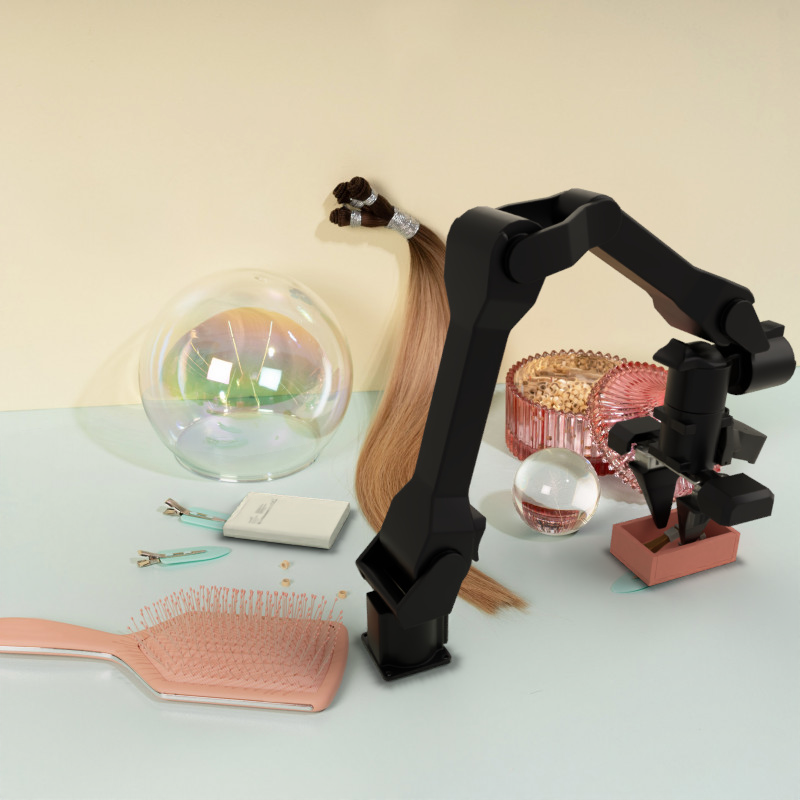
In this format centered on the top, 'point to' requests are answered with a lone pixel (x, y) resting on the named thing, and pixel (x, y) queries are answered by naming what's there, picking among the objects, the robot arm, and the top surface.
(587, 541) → the top surface
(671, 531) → the wooden post with brackets
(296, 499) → the hard drive
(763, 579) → the top surface
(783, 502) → the top surface
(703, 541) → the tray
